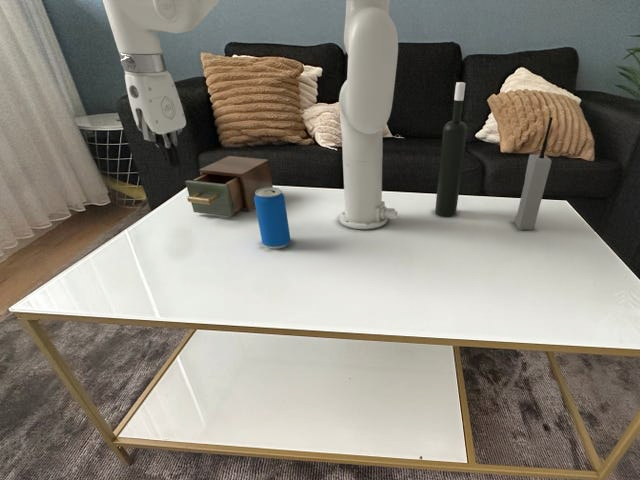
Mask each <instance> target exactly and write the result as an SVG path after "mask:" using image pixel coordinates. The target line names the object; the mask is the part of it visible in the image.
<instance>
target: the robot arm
mask: <svg viewBox="0 0 640 480" xmlns="http://www.w3.org/2000/svg"><path fill="white" fill-rule="evenodd" d="M220 1H221V0H102V3H103V6H104V9H105V13H106V15H107V19H108V23H109V25H110V30H111V31H112V35H113V38H114V42H115V45H116V48H117V51H118V55H119V58H120V65H121V67H122V68H123V71H124V80H125V86H126V92H127V97H128V100H129V101H128V102H129V106H130V109H131V112H132V116H133V119H134V121H135V124H136V127H137V129H138V130H139V132H141V133H142V135H143V136H142V137H143V139H144V141H146V142H153V143H154V144H155V146H156V147H157V148H159V153H160V155H161V160H162V163H163V165H164V167H167V168H173V169H174V168H175V169H176V168H177V169H178V167H181V166H182V161H181V159H180V155H179V151H178V147H177V146H178V144H179V143H178V136H179V135H180V134H181V133H182V132H183V129H184V128H185V127H186V125H187V120H186V116H185V112H184V109H183V105H182V102H181V98H180V95H179V92H178V89H177V87H176V84H175V82H174V80H173V78H172V75H171V73H170V72H168V69H167V65H166V62H165V58H164V54H163V50H162V46H161V42H160V37H159V33H158V31H160V32H163V33H170V34H182V33H186V32H187V33H188V32H191V31H192V30H194V29H195V28H196V27H197V26H198V25H200V23H201V22H202V21H203V20H204V19H205V18H206V16H208V14H210V12H211V11H212V10H213V9H214V8H216V6H217V4H218V3H219V2H220ZM345 1H346V2H345V19H344V20H345V21H344V30H343V46H344V49H345V52H346V54H347V75H346V76H347V77H346V80H345V81H344V83H343V84H342V86H341V88H340V91H339V95H338V96H339V97H338V110H339V120H340V131H341V149H342V172H343V193H344V196H343V197H344V211H342V212H340V214H339V216H338V219H339V222H340V223H341V224H342V225H343V226H344V227H347V228H349V229H354V230H372V229H373V230H374V229H378V228H380V227H383V226H384V225H385V224H387V222H388V219H390V220H397V219H398V211H396V208H393V207H390V208H389V207H387V206H386V202H385V201H384V200H383V155H384V154H383V149H384V148H383V147H384V144H383V143H384V142H383V128H384V127H385V126H386V124H387V123H388V121H389V119H390V117H391V113H392V110H393V109H392V108H393V102H394V92H395V84H396V75H397V65H398V56H399V37H398V31H397V27H396V25H395V23H394V21H393V19H392V18H391V17H390V8H391V7H390V6H391V0H345Z"/></svg>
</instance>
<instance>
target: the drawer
mask: <svg viewBox="0 0 640 480" xmlns="http://www.w3.org/2000/svg"><path fill="white" fill-rule="evenodd" d="M184 182H185V185H186V189H187V193H188V195H187V197H186V199H187V200H186V201H187V202H188V203H191V207H192V211H193V213H197V214H205V215H213V216H220V217H228V218H233V217H235V213H236V212H238V211H240V210H239V209H241V208H242V207H244V206H245V200H244V195H243V190H242V185H241V180H240V177H235V176H226V175H217V174H205V175H203V176H201V175H200V176H198V177H197V178H195V179H193V180H190V179H188V180H187V179H186V180H185V181H184Z"/></svg>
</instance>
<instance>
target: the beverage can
mask: <svg viewBox="0 0 640 480" xmlns="http://www.w3.org/2000/svg"><path fill="white" fill-rule="evenodd" d="M255 194H256V195H255V197H254V201H255V206H256V207H255V211H256V216H257V221H258V226H259V232H260V238H261V244H262V245H264V246H265V247H267V248H269V249H272V250H278V249H283V248H285V247H287V246H288V245H289V244H290V243H291V234H290V225H289V220H288V213H287V205H286V198H285V195H284V194H283V191H282V189H281V188H278V187H268V188H261V189H258V190H256V191H255Z"/></svg>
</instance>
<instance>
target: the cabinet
mask: <svg viewBox="0 0 640 480" xmlns="http://www.w3.org/2000/svg"><path fill="white" fill-rule="evenodd" d="M198 171H199V174H200V177H201V176H203V175H205V174H217V175H226V176H235V177H240V180H241V185H242V190H243V195H244V200H245V206H244V207H242V208H241V209H239V210H238V211H245V212H250V211H252V210H254V209H256V206H255V201H254V197H255V195H256V194H255V191H256V190H258V189H261V188H268V187H273V179H272V174H271V166H270V160H269V159H265V158H256V157H244V156H235V155H234V156H233V155H227V156H226V157H224V158H221V159H218V160H216V161H214V162H213V163H211V164H209V165H205V166H203V167H202V168H199V169H198ZM273 188H274V187H273Z"/></svg>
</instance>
